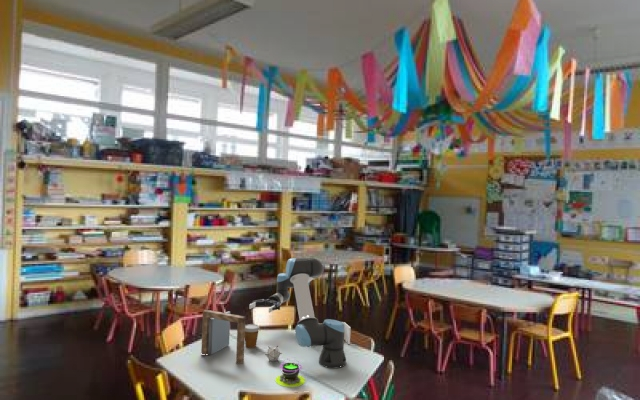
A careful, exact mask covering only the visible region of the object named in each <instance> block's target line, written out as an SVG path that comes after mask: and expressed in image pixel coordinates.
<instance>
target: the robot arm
mask: <svg viewBox="0 0 640 400" xmlns="http://www.w3.org/2000/svg"><path fill="white" fill-rule="evenodd" d="M324 270H325V268H324V264H323V263H322V261H320V260H319V259H318V258H314V257H300V258H299V257H294V258H293V257H292V258H289V259H288V260H287V262H286V265H285V273H284V272H282V273H278V274H277V278H276V279H277V280H276V293H274V294H273V295H271V296H269V297H268V298H267V299H264V298H262V299H256V300H251V303H250V304H249V307H248V309H249V310H251V309H254V308H255V307H257V306H265V307H266V306H268V313H271V312H273V311H277V310H278V311H281V306H282V304H284V303H285V302H288V300H290V296H291V293H290V292H289V288H290V289H292V288H293V290H294V295H295V301H296V306H297V307H296V308H297V312H298V318H299V320H298V321H297V325H296V326H295V328H294V330H295V331H294V332H295V339H296V341H297V343H298V345H299V346H300V347H303V348H311V346H313V347H319V346H320V347H321V346H322V349H321V352H320V354H319V356H318V363H319V364H320V366H322V365H323V367H325V366H327V367H326V368H329V367H339V368H341V367H340V366H343V365H345V364H347V357H346V353H345V351H344V346H345V345H344V344H345V340H344V333H345V331H344V324H343V323H342V322H343V321H339V320H336V319H329V318H326V319H324V320H323V322H322V324H319V323H320V322H319V319H318V318H317V317H315V312H314V307H313V301H312V297H311V291H310V285H311V284H310V283H311V281H313V280H315V279H318V278H320V277H322V275H323V274H324ZM345 366H346V365H345ZM343 367H344V366H343Z"/></svg>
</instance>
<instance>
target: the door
mask: <svg viewBox="0 0 640 400" xmlns="http://www.w3.org/2000/svg"><path fill="white" fill-rule="evenodd" d="M224 313H228V314H231V311H226V312H224ZM230 329H231V321H225V320H220V319H215V318H210V319H209V344H208V355H207V356H212V355H213V354H215V353H216V352H219V351H220V350H222V349H225V348H226V347H228V346H230V332H231V331H230Z"/></svg>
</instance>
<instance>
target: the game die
mask: <svg viewBox="0 0 640 400" xmlns="http://www.w3.org/2000/svg"><path fill="white" fill-rule="evenodd" d="M278 347H279V346H278V345H277V346H275V347H270V346H268V350H267V352H266V353H265V356H266V357H267V359H268V362H269V363H271V362H276V361H277V362H279V359H280V356H281V355H282V354H283V353H282V352H280V350H279V348H278Z"/></svg>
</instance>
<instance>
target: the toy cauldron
mask: <svg viewBox="0 0 640 400" xmlns="http://www.w3.org/2000/svg"><path fill="white" fill-rule="evenodd" d="M285 361H286V359H284V360H283V363H281V364H280V365H279V369H280V371H281V373H282V374H280V375H278V376H277V377H276V378H275V379H274V381H275V383H276V384H277V385H279V386H282V387H285V388H286V387H287V388H296V387H300V386H302V385H304V384H305V383H306V379H305V378H304V376H301V375H300V374H299V373H300V371H301V370H302V369H303V365H301V364H300V362H299V361H298V360H297V362H295V358H293V359H292V361H294V362H291V359H288V361H289V362H285ZM284 362H285V363H284Z"/></svg>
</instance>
